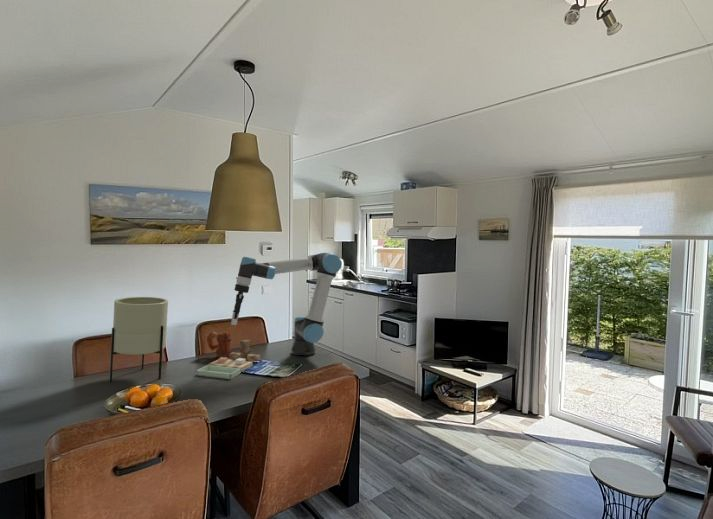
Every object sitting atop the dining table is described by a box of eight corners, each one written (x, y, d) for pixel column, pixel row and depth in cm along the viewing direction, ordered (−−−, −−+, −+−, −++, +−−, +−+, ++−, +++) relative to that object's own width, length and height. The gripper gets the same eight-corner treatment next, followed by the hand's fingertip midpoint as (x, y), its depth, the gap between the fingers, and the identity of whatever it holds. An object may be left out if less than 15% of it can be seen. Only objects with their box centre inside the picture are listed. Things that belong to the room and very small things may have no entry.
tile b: (227, 361, 218) (227, 357, 218) (224, 363, 214) (224, 359, 214) (220, 360, 218) (220, 357, 218) (217, 362, 214) (217, 359, 214)
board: (252, 367, 217) (252, 361, 217) (241, 373, 207) (241, 367, 207) (220, 363, 222) (220, 358, 222) (208, 369, 212) (208, 363, 212)
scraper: (260, 361, 228) (261, 341, 228) (257, 363, 224) (257, 342, 224) (233, 358, 233) (233, 338, 232) (229, 360, 229) (229, 340, 229)
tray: (241, 373, 206) (241, 368, 206) (230, 379, 197) (230, 374, 197) (208, 369, 211) (208, 364, 211) (196, 375, 202) (196, 370, 202)
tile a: (245, 362, 216) (245, 358, 216) (241, 364, 212) (241, 360, 212) (239, 361, 217) (239, 358, 217) (235, 363, 213) (235, 360, 213)
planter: (142, 389, 184) (147, 306, 183) (98, 381, 189) (102, 301, 187) (175, 373, 207) (179, 299, 206) (135, 367, 212) (138, 295, 210)
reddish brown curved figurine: (233, 355, 240) (234, 330, 239) (228, 359, 232) (228, 333, 231) (210, 354, 241) (211, 329, 241) (204, 358, 233) (204, 332, 233)
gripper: (235, 282, 228) (227, 318, 227) (235, 284, 204) (226, 325, 203) (248, 284, 230) (240, 320, 229) (250, 287, 207) (241, 327, 205)
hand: (233, 322), depth 216 cm, fingers open, 13 cm apart
